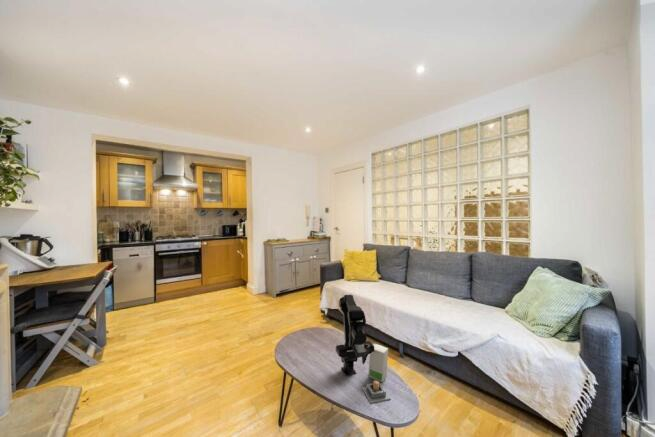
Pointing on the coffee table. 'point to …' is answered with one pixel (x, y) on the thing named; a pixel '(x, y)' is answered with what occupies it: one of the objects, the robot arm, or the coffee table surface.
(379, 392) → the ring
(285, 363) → the coffee table surface
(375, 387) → the piston base
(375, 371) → the skincare box
